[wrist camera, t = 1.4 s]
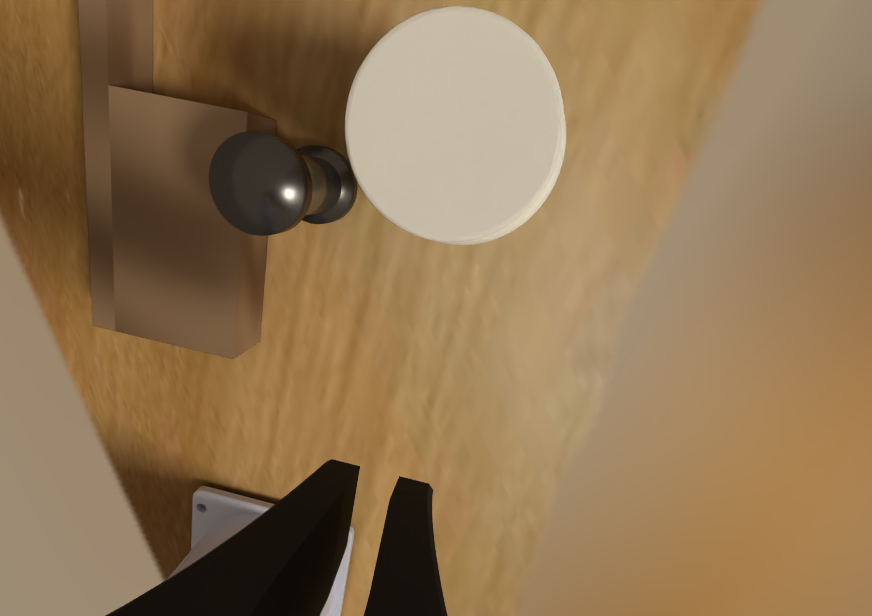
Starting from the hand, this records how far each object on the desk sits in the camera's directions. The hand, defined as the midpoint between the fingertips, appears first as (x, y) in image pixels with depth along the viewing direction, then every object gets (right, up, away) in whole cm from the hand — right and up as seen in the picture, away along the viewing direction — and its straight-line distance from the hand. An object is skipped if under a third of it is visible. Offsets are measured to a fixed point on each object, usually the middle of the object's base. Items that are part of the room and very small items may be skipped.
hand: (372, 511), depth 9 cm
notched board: (-8, +12, +8) cm, 16 cm away
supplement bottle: (+3, +10, +7) cm, 12 cm away
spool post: (-3, +9, +8) cm, 12 cm away
